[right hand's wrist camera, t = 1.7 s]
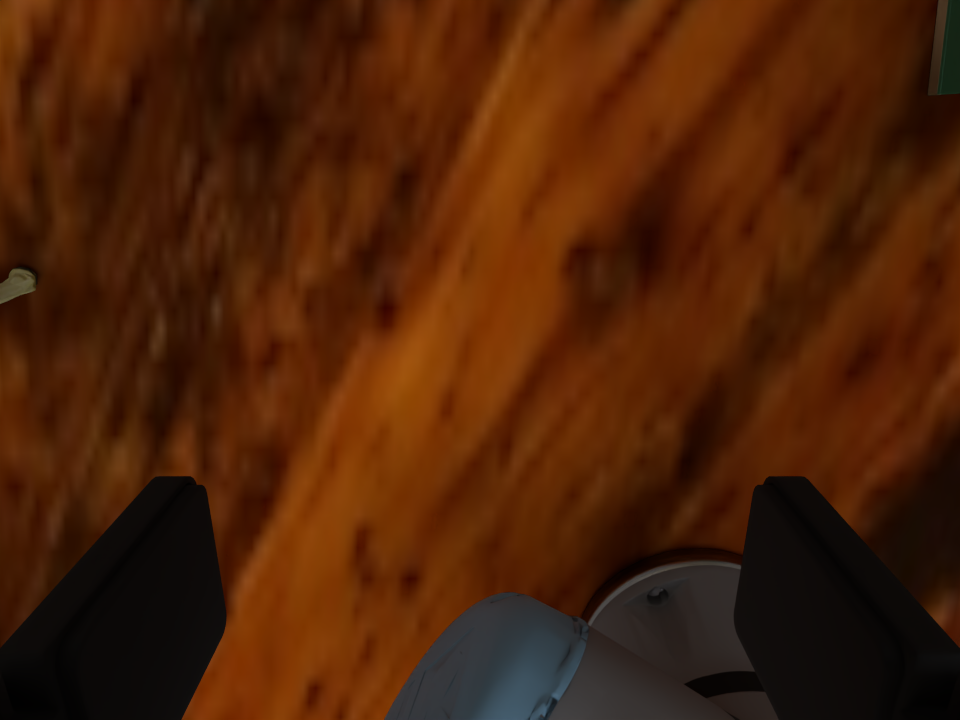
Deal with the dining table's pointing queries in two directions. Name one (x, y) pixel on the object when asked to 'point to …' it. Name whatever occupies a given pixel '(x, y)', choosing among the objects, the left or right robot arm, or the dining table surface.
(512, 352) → the dining table surface
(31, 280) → the toy
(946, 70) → the cabinet
